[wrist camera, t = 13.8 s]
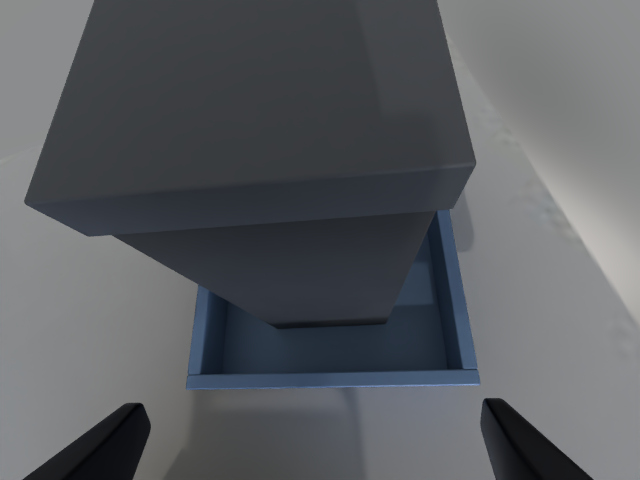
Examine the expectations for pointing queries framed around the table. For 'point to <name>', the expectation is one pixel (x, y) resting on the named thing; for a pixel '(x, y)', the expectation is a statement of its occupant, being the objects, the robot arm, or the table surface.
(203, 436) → the table surface
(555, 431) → the table surface
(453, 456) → the table surface
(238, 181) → the dark grey lidded box
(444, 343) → the blue shallow square tray
